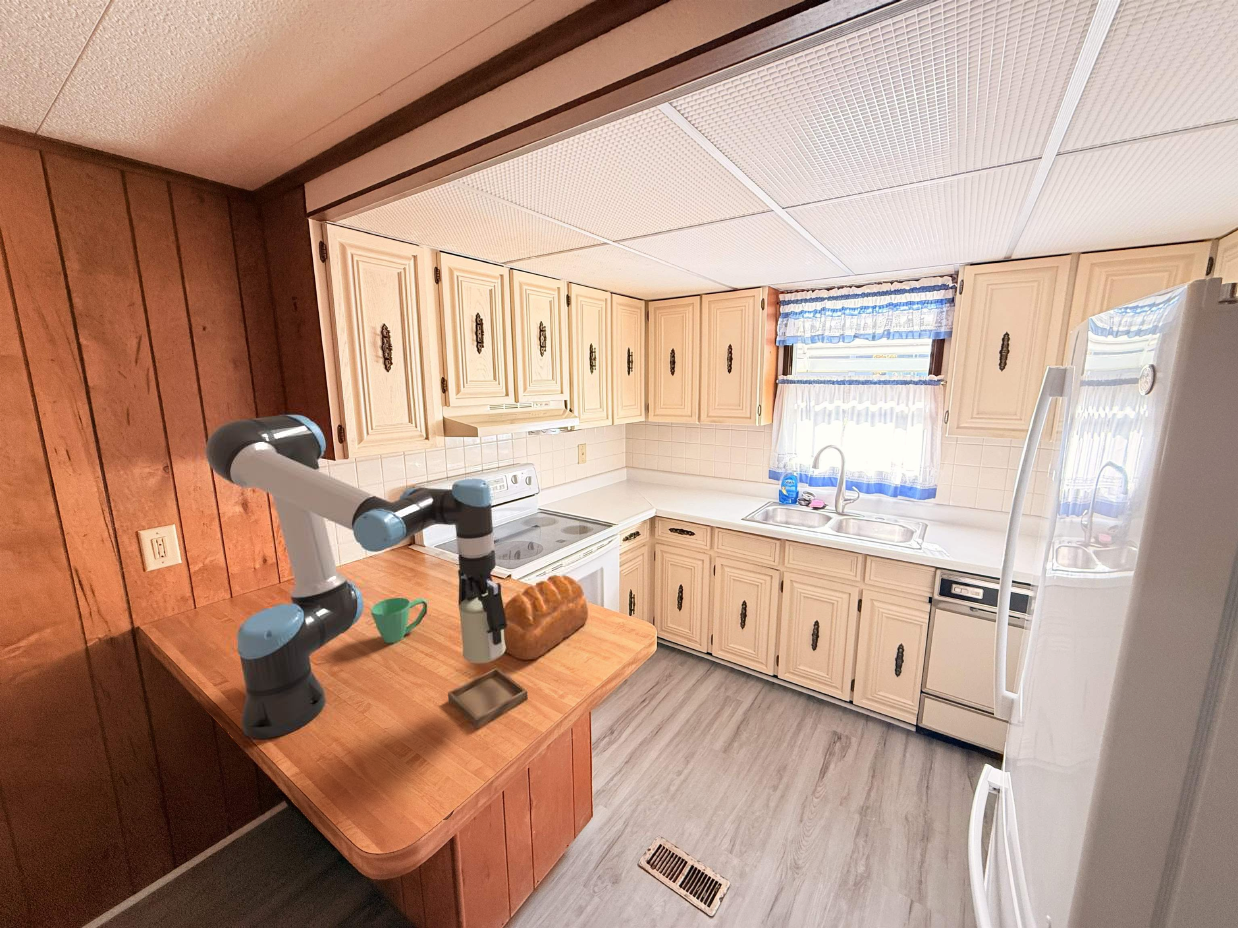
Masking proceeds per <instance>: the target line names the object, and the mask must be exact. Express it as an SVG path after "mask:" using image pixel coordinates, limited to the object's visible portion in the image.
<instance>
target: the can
mask: <svg viewBox="0 0 1238 928" xmlns="http://www.w3.org/2000/svg"><path fill="white" fill-rule="evenodd" d="M487 594H488V593H486V594H483V595H482V596H485V595H487ZM458 610H459V618H460V619H459V620H460V630H461V631H460V632H461V638H462V639H461V640H462V641H461V642H462V657H463V659H464V660H465V661H467V662H468V663H472V664H485V663H490V662H492V661H495V660H497V659H498V658H500V657H501V656H503V654H504V653H506V652H505V649H506V646H505V641H504V629H503V630H501V639H502V654H501V655H499V656H497V657H495V658H493V659H490V657H489V644H488V633H487V630H489V629H490V628H489V625H488V622H487V612H485V611H484V609H483V606H482V603H481V601H479V600H478V597H477V598H474V599H471V600H469V601H467V600H466V599H465V600H464V601H462V602H461V603H460V605H458Z"/></svg>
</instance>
